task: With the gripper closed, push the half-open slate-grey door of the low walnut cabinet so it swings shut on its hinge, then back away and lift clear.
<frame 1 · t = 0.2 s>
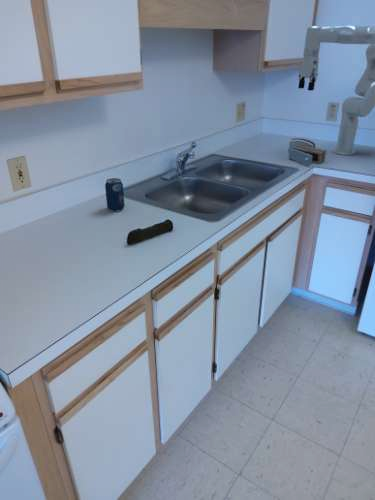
hand: (305, 89, 208), 37 cm above the worktop, tool pointing down, fingers open, 9 cm apart
soda can: (116, 209, 158), on the worktop
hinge: (301, 153, 235), on the worktop
door: (299, 156, 215), point 3 cm above the worktop, hinge at 25.0°
cabinet: (307, 159, 221), on the worktop
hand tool: (150, 238, 136), on the worktop
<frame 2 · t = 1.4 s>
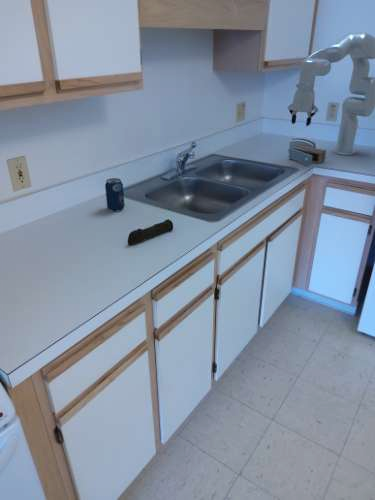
hand: (300, 124, 201), 22 cm above the worktop, tool pointing down, fingers open, 7 cm apart
nothing on the worktop moved.
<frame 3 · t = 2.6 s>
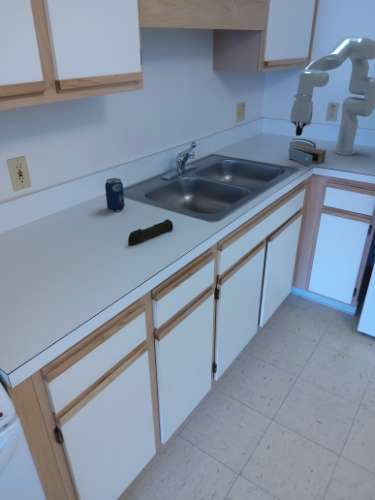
hand: (298, 135, 203), 16 cm above the worktop, tool pointing down, fingers closed
nothing on the worktop moved.
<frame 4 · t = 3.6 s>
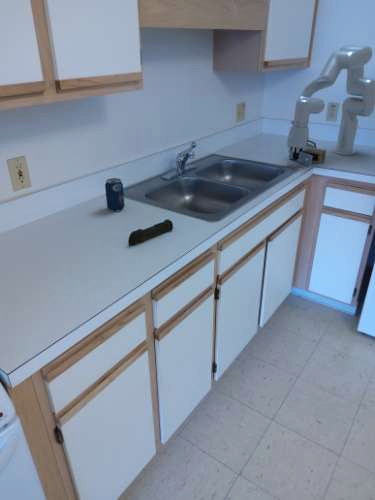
hand: (295, 159, 210), 3 cm above the worktop, tool pointing down, fingers closed
nothing on the worktop moved.
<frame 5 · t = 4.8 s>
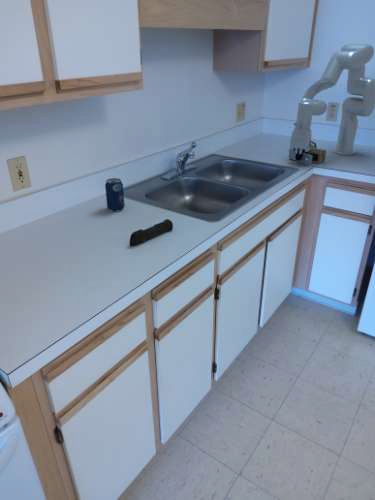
hand: (298, 160, 213), 2 cm above the worktop, tool pointing down, fingers closed
door: (299, 156, 215), point 3 cm above the worktop, hinge at 24.9°, touching gripper
everything else where it was.
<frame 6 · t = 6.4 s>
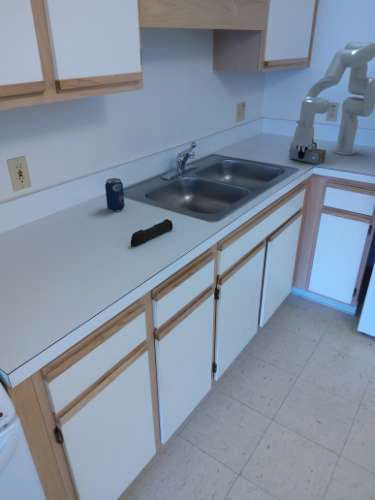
hand: (300, 158, 215), 2 cm above the worktop, tool pointing down, fingers closed
door: (303, 156, 216), point 3 cm above the worktop, hinge at 4.5°
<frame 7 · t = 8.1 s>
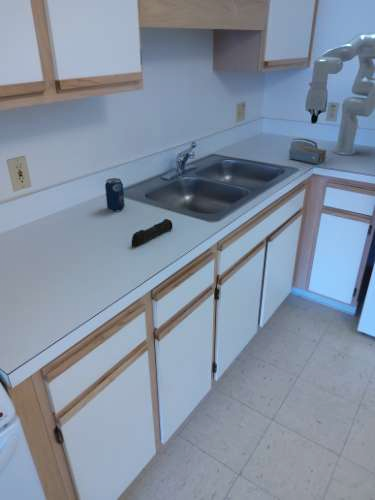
hand: (313, 122, 206), 21 cm above the worktop, tool pointing down, fingers closed
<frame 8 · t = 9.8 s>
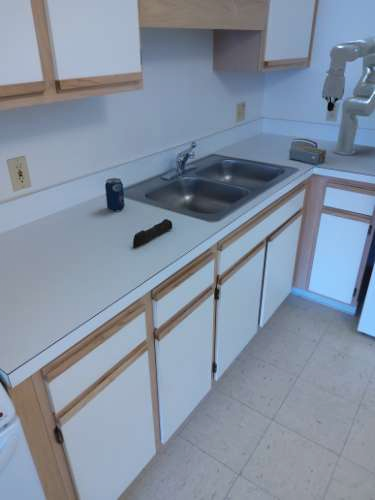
hand: (330, 110, 207), 27 cm above the worktop, tool pointing down, fingers closed
at the end: door at +4° (first picture: +25°); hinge moved 1.2 cm from its start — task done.
